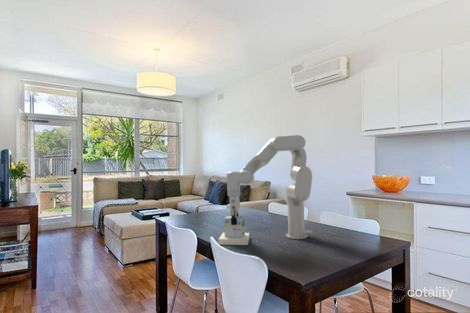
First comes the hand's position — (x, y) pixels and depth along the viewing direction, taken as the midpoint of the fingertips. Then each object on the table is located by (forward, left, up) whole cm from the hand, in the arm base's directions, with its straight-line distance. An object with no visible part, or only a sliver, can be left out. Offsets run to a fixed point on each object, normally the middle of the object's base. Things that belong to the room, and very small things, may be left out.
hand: (235, 222), depth 157 cm
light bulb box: (0, 0, -8) cm, 8 cm away
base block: (+1, 0, -10) cm, 10 cm away
